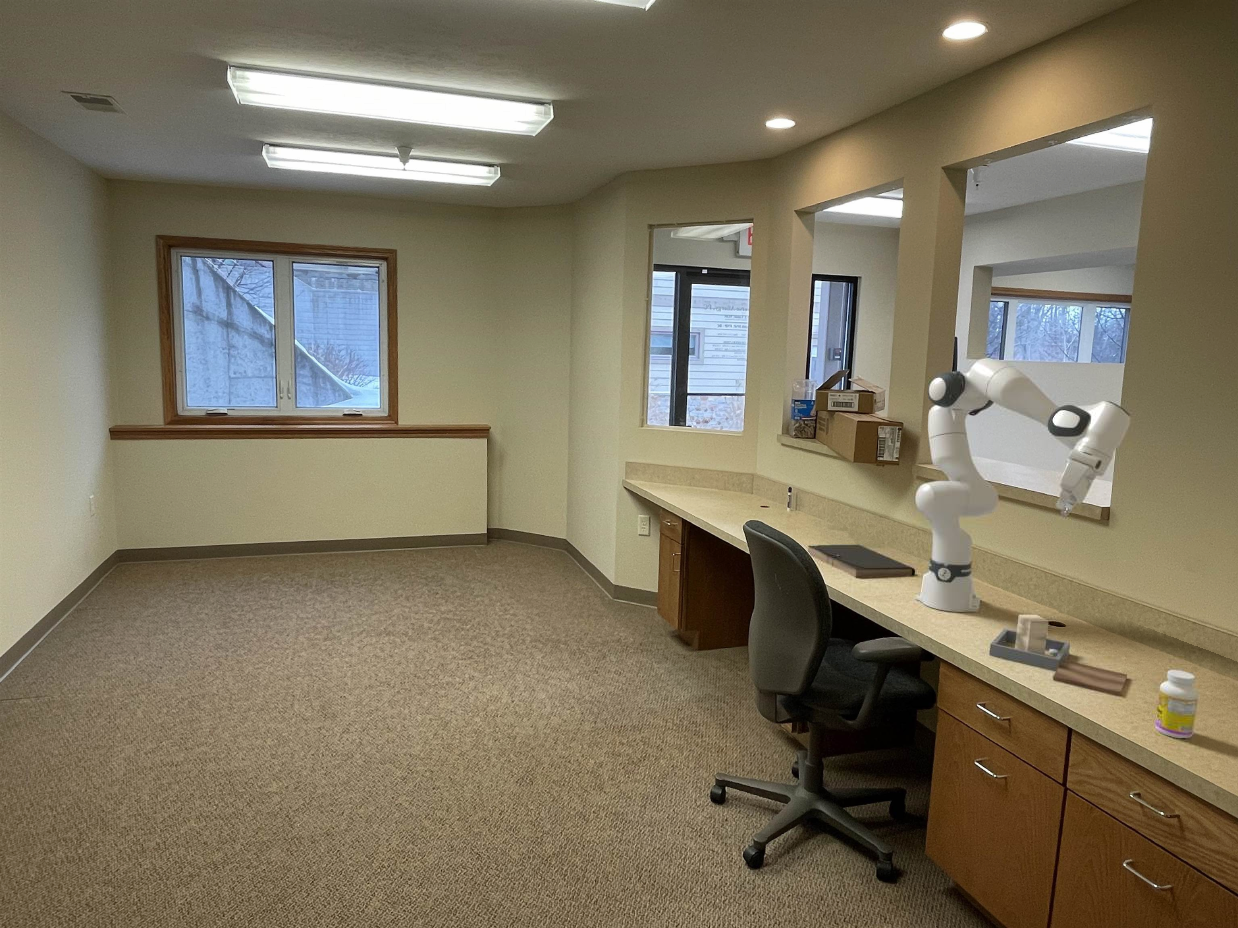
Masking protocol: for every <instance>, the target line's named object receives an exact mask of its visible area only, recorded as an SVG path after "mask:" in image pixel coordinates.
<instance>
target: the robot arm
mask: <svg viewBox="0 0 1238 928" xmlns="http://www.w3.org/2000/svg"><path fill="white" fill-rule="evenodd" d="M927 397H928V400H929V401H930V402H931V404H934V406H932V407H931V408H930V409H929V411H928V415H927V416H928V418H927V420H928V421H927V432H928V442H929V450H930V457H931V463H932V464H933V466H934V467H935V468H936V469H938V470H939V471H942V472H943V473H944V474H945V476H946V477H947V478H948V480H934V481H929V482H926V483H922V484H921V485H920V486H919V487H918V488H917V490H916V493H915V499H914V500H915V504H916V507H917V509H918V511H920V513H921V514H922V515H924V517H925V518H926V519H927V521H928V523H929V525H930V528H931V531H932V532H931V533H932V549H931V550H932V551H931V557H930V558H929V562H928V570H929V571H927V572H926V573H925V574H923V576H922V577H923V578H922V584H921V590H920V593H919V594H916V595H915V600H917V601H919V602H921V603H922V604H923V605H924V606H927V607H929V608H933V609H936V610H940V611H945V612H958V613H962V612H971V613H972V612H974V613H976V612H977V613H978V612H980V606H981V596H978V595H976V594H975V593H974V592H975V590H974V589H975V581H974V579H973V577H972V575H971V574H972V569H973V568H972V567H973V566H972V565H973V561H972V560H971V557H972V556H971V555H972V549H973V548H972V546H973V538H972V537H971V535H970V534H969V533H968V532H967V531H966V530H964V529H963V528H961V525H960V518H963V517H964V518H965V517H966V518H968V517H969V518H970V517H971V518H974V517H975V518H976V517H981V516H986V515H990V514H992V513H994V511H995V510H996V508H997V507H998V504H999V494H998V491H997V489H996V488H995V486H994V485H992V484H991V483H990V482H988V481H987V480H986V479H985V478H984V477H983V476H982V475H981V473H980V472H979V471H978V469H977V467H976V466H975V464H974V461H973V459H972V455H971V451H970V445H969V438H968V433H967V426H966V418H967V416H968V415H970V416H972V417H974V416H975V417H976V416H977V415H978V414H979V413H980V412H982V411H985V410H987V409H989V408H990V407H992V406H993V404H996V405H998V406H1000V407H1003V408H1005V409H1007V410H1009V411H1012V412H1015V413H1017V414H1019V415H1021V416H1024V417H1027V418H1029V419H1032V420H1033V421H1035V422H1038V423H1040V424H1041V425H1043V426H1045V427H1047V430H1048V431H1049V433H1050V434H1051V436H1052V437H1053V438H1055V439H1056V440H1058V441H1059V442H1061V443H1062V444H1063V445H1064V446H1066V447H1067V448H1069V449H1070V450H1071V451H1070V453H1069V454H1068V456H1067V457H1068V458H1067V460H1066V463H1067V464H1066V466H1065V467H1064V470H1063V473H1062V475H1061V477H1060V481H1059V484H1058V485H1059V487H1060V488H1061V492H1060V493H1059V498H1058V500H1057V502H1056V503H1055V507H1056V508H1057V509H1060V514H1061V515H1064V516H1069V514H1070V513H1071V511H1072V510H1073V508H1074V507H1075V506H1076V504H1082V503H1083V501H1085V500H1086V499H1085V498H1086V496H1087V494H1088V493H1089V491H1090V489H1091V487H1092V484H1093V482H1094V481H1095V479H1096V477H1103V476H1105V475H1104V474H1105V472H1106V471H1107V469H1108V467H1109V465H1110V464H1111V461H1112V460H1113V457H1114V453H1115V450H1116V449H1118V447H1119V446H1120V445H1121V444H1122V442H1123V439H1124V438H1125V436H1126V434H1127V431H1128V429H1129V427H1130V423H1131V414H1130V413H1129V412H1128V411H1127V410H1126V409H1125V408H1124V407H1122V406H1120V405H1119V404H1117V403H1114V402H1112V401H1109V400H1102V401H1100V402H1097V403H1094V404H1088V405H1073V404H1065V405H1062V406H1059V405H1057V404H1056V403H1054V401H1052V400H1051V399H1050V398H1049V397H1048V396H1047V395H1046V394H1045V393H1044V392H1043V390H1041V389H1040V388H1039V386H1037V385H1036V383H1034V382H1033V381H1032V379H1030V377H1028V376H1027V375H1026V374H1025V373H1024V372H1022V371H1021V370H1019V369H1017V368H1015V367H1013V365H1009V363H1006V362H1003V361H1001V360H998V359H994V358H990V357H984V358H981V359H978V360H977V361H976V362H975V363H973V365H972V366H971V368H970V369H969V371H968V372H961V371H960V370H956V371H946V372H942V373H938V374H936V375H934V376H933V377H932V378H931V380H930V381H929V383H928V386H927Z"/></svg>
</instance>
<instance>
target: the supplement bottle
mask: <svg viewBox="0 0 1238 928" xmlns="http://www.w3.org/2000/svg"><path fill="white" fill-rule="evenodd" d="M1166 677H1167V680H1165V681H1164V682H1162V683H1161V684H1160V686H1159V693H1158V699H1157V707H1156V714H1155V720H1154V721H1155V722H1154V727H1155V729H1156V730H1157V731H1158V732H1160V733H1161V734H1163V735H1166V736H1168V737H1170V736H1171V738H1175V739H1181V738H1186V739H1190V738H1191V737H1192V736H1193V734H1194V727H1195V720H1196V715H1197V714H1196V713H1197V706H1198V700H1199V699H1198V698H1199V692H1198V689H1196V688H1195V687H1194V686H1193V685H1194V683H1195V680H1196V679H1195V675H1193V674H1192V673H1189V672H1188V671H1184V670H1178V669H1170V670H1168V671H1167V675H1166Z"/></svg>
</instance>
